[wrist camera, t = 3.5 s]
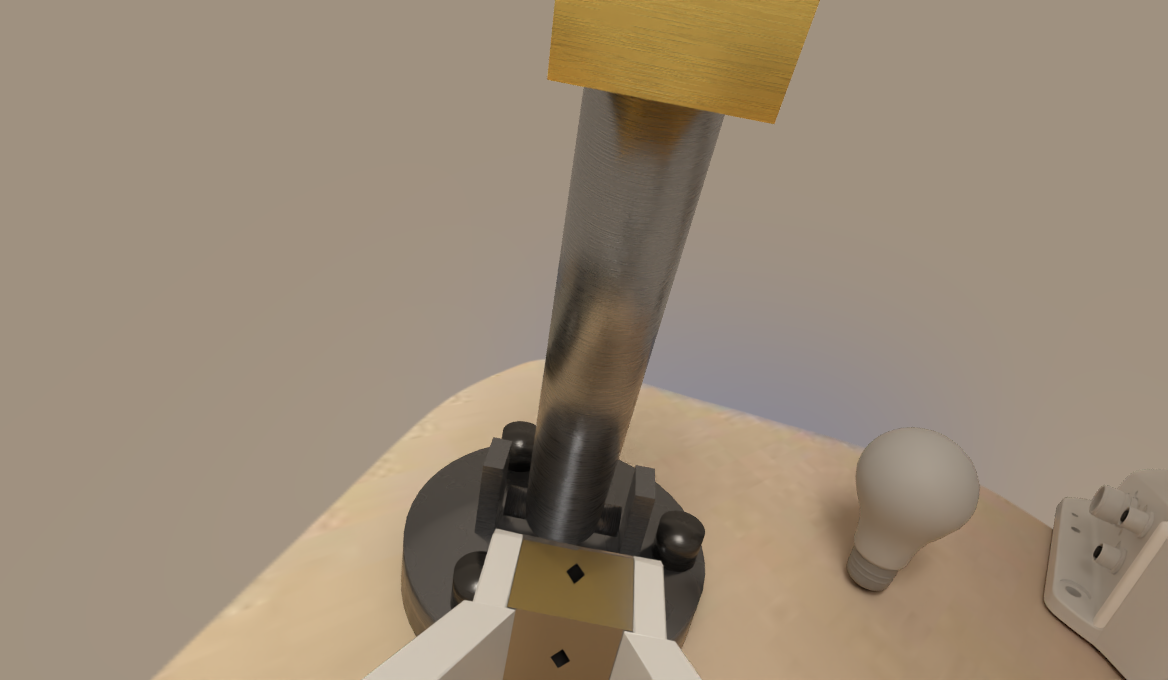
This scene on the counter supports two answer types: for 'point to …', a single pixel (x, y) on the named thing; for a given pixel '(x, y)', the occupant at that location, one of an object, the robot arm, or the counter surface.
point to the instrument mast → (635, 215)
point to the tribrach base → (475, 510)
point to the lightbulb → (908, 500)
